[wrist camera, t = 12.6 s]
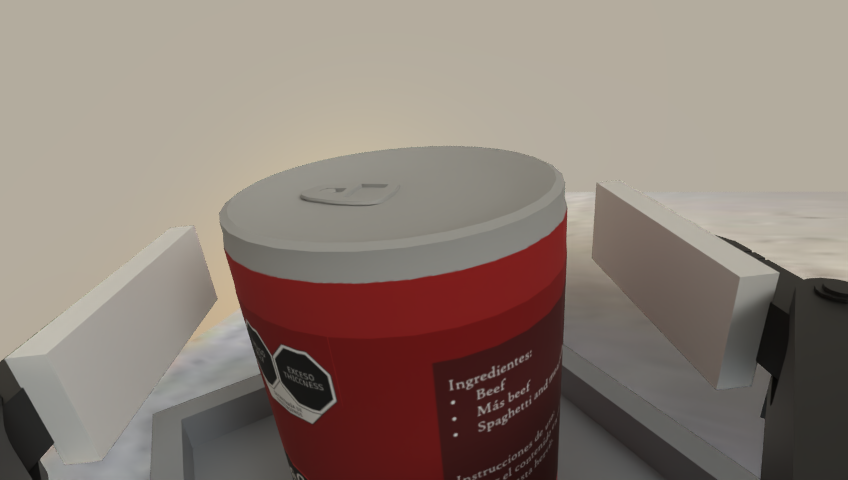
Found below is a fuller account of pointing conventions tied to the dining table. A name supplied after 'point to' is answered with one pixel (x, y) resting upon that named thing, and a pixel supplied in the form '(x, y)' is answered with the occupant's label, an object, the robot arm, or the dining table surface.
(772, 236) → the dining table surface
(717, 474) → the tray
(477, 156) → the canned food
